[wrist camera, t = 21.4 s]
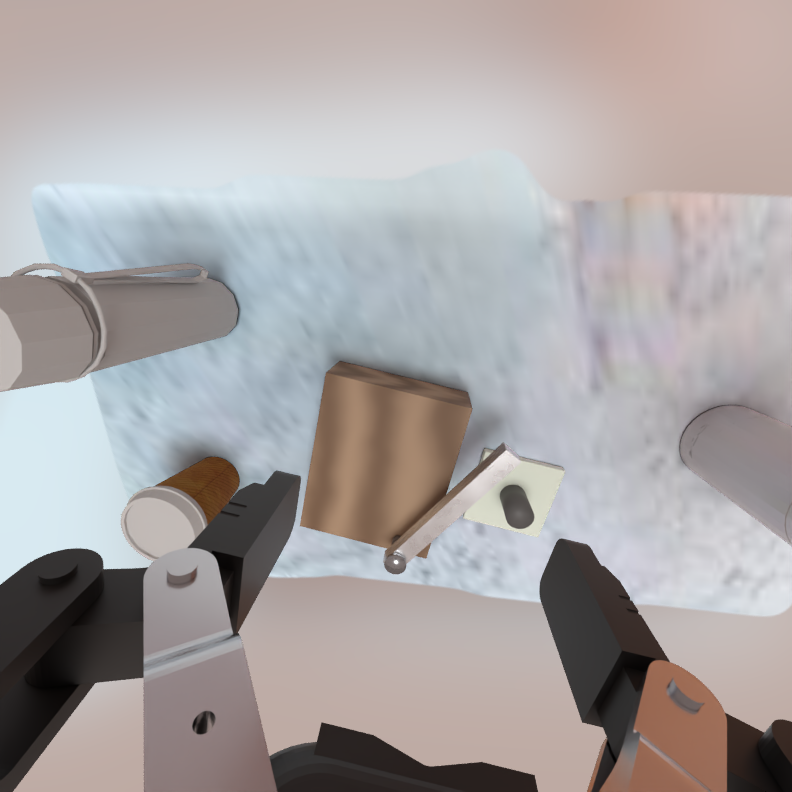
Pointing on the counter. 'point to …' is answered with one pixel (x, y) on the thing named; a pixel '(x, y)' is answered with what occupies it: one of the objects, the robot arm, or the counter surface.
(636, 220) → the counter surface
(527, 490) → the lid
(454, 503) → the latch bar
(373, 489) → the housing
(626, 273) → the counter surface
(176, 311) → the water bottle
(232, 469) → the disposable coffee cup
